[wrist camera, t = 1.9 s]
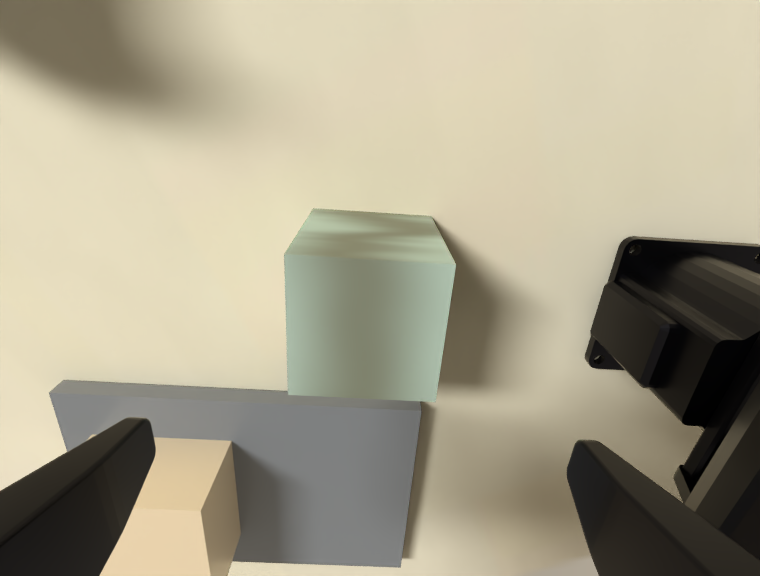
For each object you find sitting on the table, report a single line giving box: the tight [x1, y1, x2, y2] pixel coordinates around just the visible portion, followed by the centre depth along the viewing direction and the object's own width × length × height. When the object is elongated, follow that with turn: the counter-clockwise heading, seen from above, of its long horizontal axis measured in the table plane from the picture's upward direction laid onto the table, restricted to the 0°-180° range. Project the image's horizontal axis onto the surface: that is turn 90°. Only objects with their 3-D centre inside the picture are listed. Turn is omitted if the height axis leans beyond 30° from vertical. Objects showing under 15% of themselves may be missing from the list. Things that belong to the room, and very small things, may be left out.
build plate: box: [49, 380, 421, 576], centre depth 21 cm, size 18×12×5 cm, turn 86°
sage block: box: [284, 208, 456, 402], centre depth 16 cm, size 5×5×6 cm
